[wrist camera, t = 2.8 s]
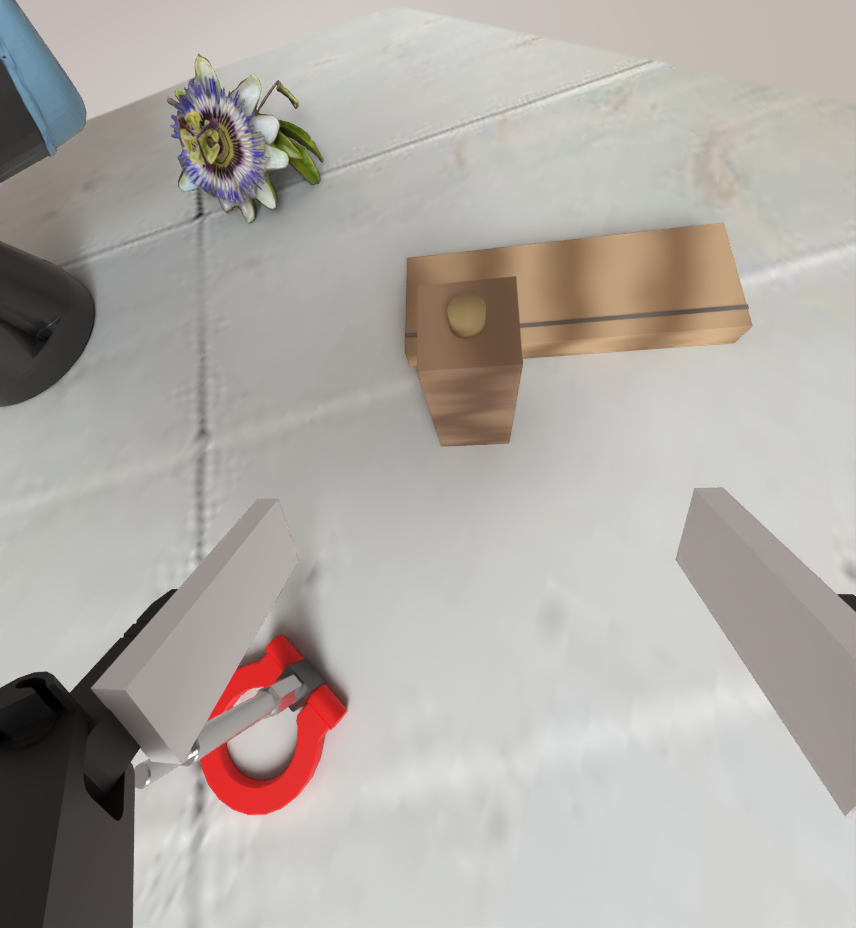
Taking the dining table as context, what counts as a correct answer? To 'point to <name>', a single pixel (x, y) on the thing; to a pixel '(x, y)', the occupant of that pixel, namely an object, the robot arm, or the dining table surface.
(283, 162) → the passion flower
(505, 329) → the block
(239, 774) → the tow hook
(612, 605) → the dining table surface
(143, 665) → the robot arm
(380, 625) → the dining table surface
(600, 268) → the board
